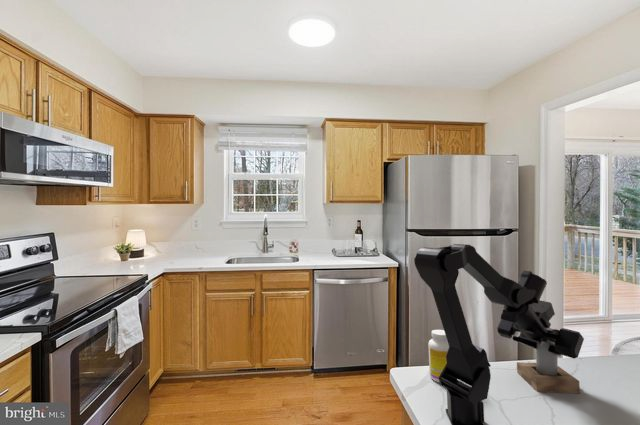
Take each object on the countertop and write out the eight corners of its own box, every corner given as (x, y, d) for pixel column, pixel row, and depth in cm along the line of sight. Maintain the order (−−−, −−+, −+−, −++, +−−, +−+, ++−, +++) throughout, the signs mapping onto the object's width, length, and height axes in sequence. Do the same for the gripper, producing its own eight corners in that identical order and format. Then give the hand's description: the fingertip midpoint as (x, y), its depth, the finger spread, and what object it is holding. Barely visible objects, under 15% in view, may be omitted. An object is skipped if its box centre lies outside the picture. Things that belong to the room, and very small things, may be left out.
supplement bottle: (457, 385, 83) (455, 336, 83) (431, 383, 84) (429, 335, 85) (452, 373, 89) (450, 328, 90) (428, 372, 91) (426, 327, 91)
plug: (542, 386, 81) (542, 333, 81) (532, 376, 86) (532, 326, 86) (561, 387, 81) (562, 334, 80) (550, 377, 85) (551, 327, 85)
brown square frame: (536, 391, 79) (536, 379, 79) (517, 372, 89) (516, 362, 89) (579, 393, 77) (579, 381, 78) (555, 374, 87) (554, 363, 88)
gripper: (577, 299, 74) (601, 336, 78) (500, 286, 90) (524, 318, 95) (562, 339, 70) (589, 376, 74) (485, 318, 86) (510, 349, 91)
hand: (549, 351), depth 84 cm, fingers closed on plug, 5 cm apart
